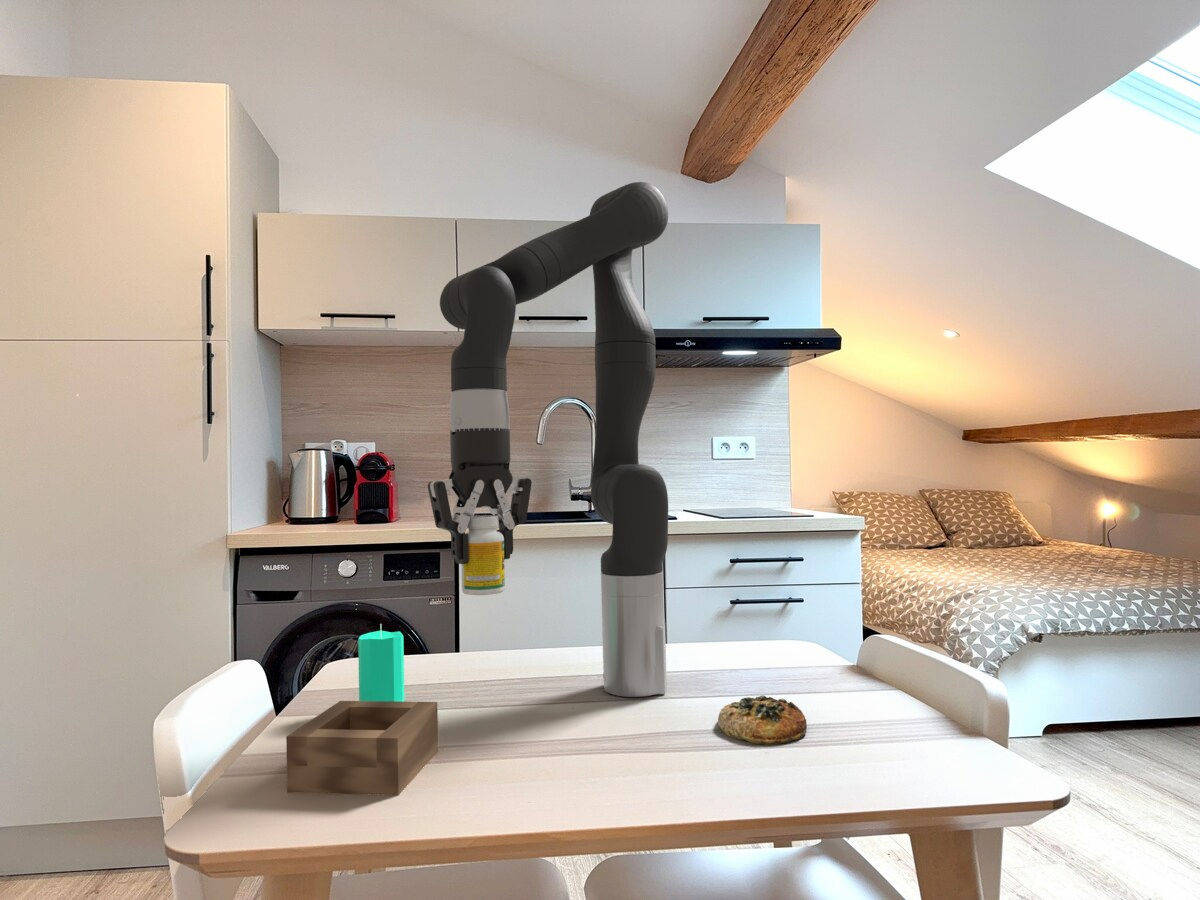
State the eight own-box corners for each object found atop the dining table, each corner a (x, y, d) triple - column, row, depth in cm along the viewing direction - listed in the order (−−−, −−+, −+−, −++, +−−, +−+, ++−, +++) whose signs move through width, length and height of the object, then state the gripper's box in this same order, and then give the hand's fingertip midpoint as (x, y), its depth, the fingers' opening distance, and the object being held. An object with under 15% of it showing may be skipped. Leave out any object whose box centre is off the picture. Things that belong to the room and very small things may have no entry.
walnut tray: (438, 753, 88) (437, 701, 88) (398, 798, 76) (397, 738, 76) (341, 751, 89) (340, 700, 89) (287, 795, 77) (286, 736, 77)
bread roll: (817, 721, 95) (813, 683, 94) (796, 764, 85) (791, 722, 85) (733, 713, 100) (728, 677, 100) (704, 753, 90) (699, 713, 90)
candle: (391, 719, 100) (390, 628, 100) (350, 717, 101) (349, 627, 101) (412, 705, 105) (410, 619, 106) (373, 703, 107) (371, 619, 107)
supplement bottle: (457, 591, 96) (456, 516, 96) (497, 587, 98) (496, 514, 98) (468, 597, 91) (467, 518, 91) (510, 593, 93) (509, 516, 93)
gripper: (513, 430, 102) (516, 554, 102) (414, 428, 93) (417, 564, 93) (543, 426, 96) (546, 558, 96) (441, 424, 88) (444, 569, 87)
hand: (482, 560), depth 94 cm, fingers closed on supplement bottle, 5 cm apart
